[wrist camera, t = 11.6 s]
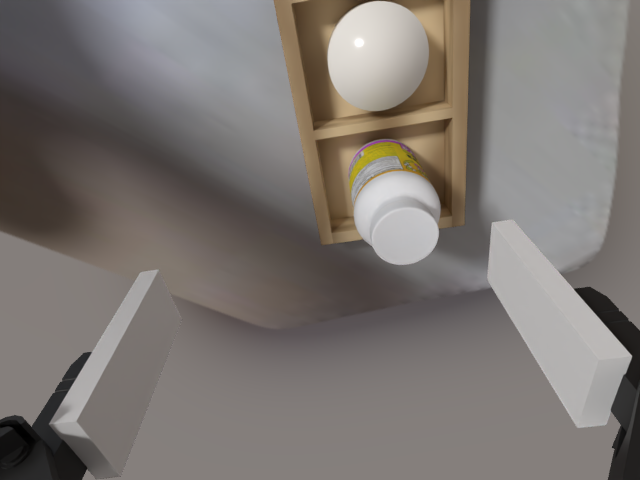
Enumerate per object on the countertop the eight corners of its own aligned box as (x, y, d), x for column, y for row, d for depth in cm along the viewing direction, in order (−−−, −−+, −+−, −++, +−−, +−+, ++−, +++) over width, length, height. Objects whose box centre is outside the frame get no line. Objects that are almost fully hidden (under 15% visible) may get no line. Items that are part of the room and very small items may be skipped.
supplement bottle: (422, 189, 40) (461, 263, 29) (358, 209, 41) (371, 287, 30) (408, 125, 36) (445, 182, 25) (338, 148, 37) (345, 212, 27)
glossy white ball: (334, 107, 36) (335, 118, 32) (320, 10, 32) (320, 12, 29) (420, 93, 35) (430, 102, 32) (417, -8, 31) (427, -9, 28)
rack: (321, 226, 43) (321, 245, 40) (276, -12, 32) (271, -13, 28) (453, 207, 42) (464, 225, 39) (455, -48, 30) (471, -53, 27)
